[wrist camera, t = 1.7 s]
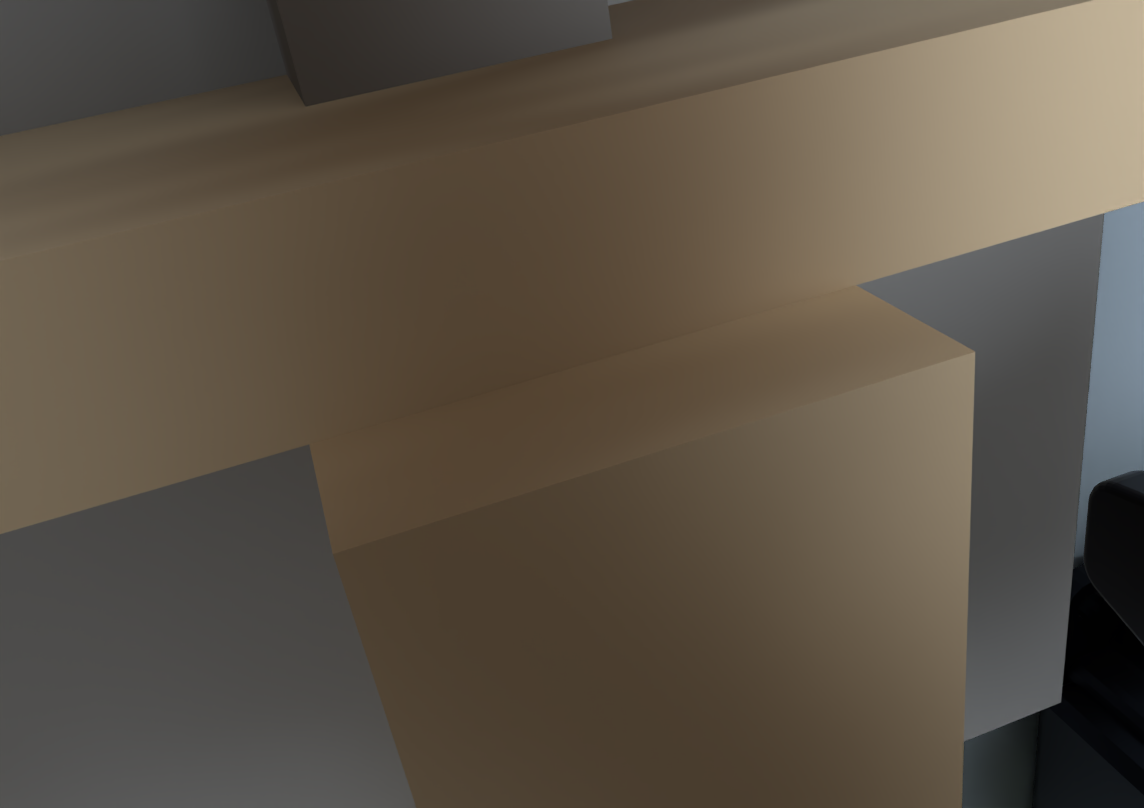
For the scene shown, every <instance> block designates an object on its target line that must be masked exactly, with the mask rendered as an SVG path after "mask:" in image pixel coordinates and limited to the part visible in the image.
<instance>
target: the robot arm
mask: <svg viewBox="0 0 1144 808" xmlns="http://www.w3.org/2000/svg"><path fill="white" fill-rule="evenodd" d="M1033 808H1144V471H1132V472H1128V473H1125V474H1123V475H1120V476H1117V477H1114V478H1111V479H1108V480H1106V481H1103V482H1101V483H1099V484H1098V485H1096V486H1095V487H1094V489H1093V490H1092V492H1091V494H1090V497H1089V502H1088V513H1087V524H1086V535H1085V546H1084V565H1082V566H1079V567H1076V568H1074V569H1073V573H1072V584H1071V595H1070V607H1069V618H1068V629H1067V641H1066V652H1065V663H1064V675H1063V686H1062V697H1061V703H1058V704H1056V705H1053V706H1051V707H1048V708H1046V709H1043V710H1041V711H1040V716H1039V729H1038V742H1037V755H1036V768H1035V782H1034V795H1033Z"/></svg>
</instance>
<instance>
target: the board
mask: <svg viewBox="0 0 1144 808" xmlns="http://www.w3.org/2000/svg"><path fill="white" fill-rule="evenodd" d="M607 1H608V6H609V5H614V4H619V3H623V2H628V1H633V0H607ZM283 75H287V73H286V69H285V66H284V62H283V59H282V55H281V51H280V48H279V44H278V41H277V37H276V34H275V30H274V26H273V23H272V19H271V16H270V12H269V9H268V5H267V1H266V0H0V136H3V135H7V134H12V133H17V132H21V131H26V130H31V129H35V128H40V127H45V126H49V125H54V124H59V123H63V122H68V121H73V120H77V119H82V118H87V117H91V116H96V115H101V114H105V113H110V112H115V111H119V110H124V109H129V108H133V107H138V106H143V105H147V104H152V103H157V102H161V101H166V100H171V99H175V98H180V97H185V96H189V95H194V94H199V93H203V92H208V91H213V90H217V89H222V88H227V87H231V86H236V85H241V84H245V83H250V82H255V81H259V80H264V79H269V78H273V77H278V76H283ZM1103 222H1104V213H1102V214H1099V215H1096V216H1092V217H1089V218H1085V219H1082V220H1078V221H1075V222H1071V223H1068V224H1065V225H1061V226H1058V227H1054V228H1051V229H1047V230H1044V231H1041V232H1037V233H1034V234H1030V235H1027V236H1023V237H1020V238H1017V239H1013V240H1010V241H1006V242H1003V243H999V244H996V245H992V246H989V247H986V248H982V249H979V250H975V251H972V252H968V253H965V254H962V255H958V256H955V257H951V258H948V259H944V260H941V261H937V262H934V263H931V264H927V265H924V266H920V267H917V268H913V269H910V270H907V271H903V272H900V273H896V274H893V275H889V276H886V277H882V278H879V279H876V280H872V281H869V282H865V283H862V284H858V285H856V286H858V287H860V288H862V289H864V290H865V291H867V292H869V293H871V294H873V295H874V296H876V297H878V298H880V299H882V300H883V301H885V302H887V303H889V304H891V305H892V306H894V307H896V308H898V309H900V310H901V311H903V312H905V313H907V314H909V315H910V316H912V317H914V318H916V319H918V320H919V321H921V322H923V323H925V324H927V325H928V326H930V327H932V328H934V329H936V330H937V331H939V332H941V333H943V334H945V335H946V336H948V337H950V338H952V339H954V340H955V341H957V342H959V343H961V344H963V345H964V346H966V347H968V348H970V349H972V350H973V351H975V379H974V413H973V447H972V481H971V515H970V549H969V583H968V617H967V651H966V685H965V719H964V742H965V741H967V740H970V739H972V738H975V737H977V736H979V735H982V734H984V733H987V732H989V731H992V730H994V729H997V728H999V727H1002V726H1004V725H1007V724H1009V723H1011V722H1014V721H1016V720H1019V719H1021V718H1024V717H1026V716H1029V715H1031V714H1034V713H1036V712H1039V711H1041V710H1043V709H1046V708H1048V707H1051V706H1053V705H1056V704H1058V703H1061V697H1062V686H1063V675H1064V663H1065V652H1066V641H1067V629H1068V618H1069V607H1070V595H1071V584H1072V573H1073V561H1074V550H1075V539H1076V528H1077V516H1078V505H1079V494H1080V482H1081V471H1082V460H1083V448H1084V437H1085V426H1086V414H1087V403H1088V392H1089V380H1090V369H1091V358H1092V347H1093V335H1094V324H1095V313H1096V301H1097V290H1098V279H1099V267H1100V256H1101V245H1102V233H1103ZM0 808H416V805H415V802H414V799H413V796H412V793H411V790H410V787H409V784H408V781H407V778H406V775H405V772H404V769H403V766H402V763H401V760H400V757H399V754H398V751H397V748H396V745H395V742H394V739H393V736H392V733H391V729H390V726H389V723H388V720H387V717H386V714H385V711H384V708H383V705H382V702H381V699H380V696H379V693H378V690H377V687H376V684H375V681H374V678H373V675H372V672H371V669H370V666H369V663H368V660H367V657H366V654H365V650H364V647H363V644H362V641H361V638H360V635H359V632H358V629H357V626H356V623H355V620H354V617H353V614H352V611H351V608H350V605H349V602H348V599H347V596H346V593H345V590H344V587H343V584H342V581H341V578H340V575H339V572H338V568H337V565H336V562H335V559H334V556H333V553H332V548H331V544H330V539H329V534H328V530H327V525H326V520H325V516H324V511H323V506H322V501H321V497H320V492H319V487H318V483H317V478H316V473H315V469H314V464H313V459H312V455H311V450H310V445H305V446H302V447H298V448H295V449H291V450H288V451H285V452H281V453H278V454H274V455H271V456H267V457H264V458H260V459H257V460H254V461H250V462H247V463H243V464H240V465H236V466H233V467H230V468H226V469H223V470H219V471H216V472H212V473H209V474H206V475H202V476H199V477H195V478H192V479H188V480H185V481H181V482H178V483H175V484H171V485H168V486H164V487H161V488H157V489H154V490H151V491H147V492H144V493H140V494H137V495H133V496H130V497H126V498H123V499H120V500H116V501H113V502H109V503H106V504H102V505H99V506H96V507H92V508H89V509H85V510H82V511H78V512H75V513H71V514H68V515H65V516H61V517H58V518H54V519H51V520H47V521H44V522H41V523H37V524H34V525H30V526H27V527H23V528H20V529H17V530H13V531H10V532H6V533H3V534H0Z"/></svg>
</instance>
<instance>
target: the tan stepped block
mask: <svg viewBox="0 0 1144 808" xmlns="http://www.w3.org/2000/svg"><path fill="white" fill-rule="evenodd" d="M266 1H267V5H268V9H269V12H270V16H271V19H272V23H273V26H274V30H275V34H276V37H277V41H278V44H279V48H280V51H281V55H282V59H283V62H284V66H285V69H286V73H287V75H283V76H278V77H273V78H269V79H264V80H259V81H255V82H250V83H245V84H241V85H236V86H231V87H227V88H222V89H217V90H213V91H208V92H203V93H199V94H194V95H189V96H185V97H180V98H175V99H171V100H166V101H161V102H157V103H152V104H147V105H143V106H138V107H133V108H129V109H124V110H119V111H115V112H110V113H105V114H101V115H96V116H91V117H87V118H82V119H77V120H73V121H68V122H63V123H59V124H54V125H49V126H45V127H40V128H35V129H31V130H26V131H21V132H17V133H12V134H7V135H3V136H0V534H3V533H6V532H10V531H13V530H17V529H20V528H23V527H27V526H30V525H34V524H37V523H41V522H44V521H47V520H51V519H54V518H58V517H61V516H65V515H68V514H71V513H75V512H78V511H82V510H85V509H89V508H92V507H96V506H99V505H102V504H106V503H109V502H113V501H116V500H120V499H123V498H126V497H130V496H133V495H137V494H140V493H144V492H147V491H151V490H154V489H157V488H161V487H164V486H168V485H171V484H175V483H178V482H181V481H185V480H188V479H192V478H195V477H199V476H202V475H206V474H209V473H212V472H216V471H219V470H223V469H226V468H230V467H233V466H236V465H240V464H243V463H247V462H250V461H254V460H257V459H260V458H264V457H267V456H271V455H274V454H278V453H281V452H285V451H288V450H291V449H295V448H298V447H302V446H305V445H310V450H311V455H312V459H313V464H314V469H315V473H316V478H317V483H318V487H319V492H320V497H321V501H322V506H323V511H324V516H325V520H326V525H327V530H328V534H329V539H330V544H331V548H332V553H333V556H334V559H335V562H336V565H337V568H338V572H339V575H340V578H341V581H342V584H343V587H344V590H345V593H346V596H347V599H348V602H349V605H350V608H351V611H352V614H353V617H354V620H355V623H356V626H357V629H358V632H359V635H360V638H361V641H362V644H363V647H364V650H365V654H366V657H367V660H368V663H369V666H370V669H371V672H372V675H373V678H374V681H375V684H376V687H377V690H378V693H379V696H380V699H381V702H382V705H383V708H384V711H385V714H386V717H387V720H388V723H389V726H390V729H391V733H392V736H393V739H394V742H395V745H396V748H397V751H398V754H399V757H400V760H401V763H402V766H403V769H404V772H405V775H406V778H407V781H408V784H409V787H410V790H411V793H412V796H413V799H414V802H415V805H416V808H962V787H963V753H964V719H965V685H966V651H967V617H968V583H969V549H970V515H971V481H972V447H973V413H974V379H975V351H973V350H972V349H970V348H968V347H966V346H964V345H963V344H961V343H959V342H957V341H955V340H954V339H952V338H950V337H948V336H946V335H945V334H943V333H941V332H939V331H937V330H936V329H934V328H932V327H930V326H928V325H927V324H925V323H923V322H921V321H919V320H918V319H916V318H914V317H912V316H910V315H909V314H907V313H905V312H903V311H901V310H900V309H898V308H896V307H894V306H892V305H891V304H889V303H887V302H885V301H883V300H882V299H880V298H878V297H876V296H874V295H873V294H871V293H869V292H867V291H865V290H864V289H862V288H860V287H858V286H856V285H858V284H862V283H865V282H869V281H872V280H876V279H879V278H882V277H886V276H889V275H893V274H896V273H900V272H903V271H907V270H910V269H913V268H917V267H920V266H924V265H927V264H931V263H934V262H937V261H941V260H944V259H948V258H951V257H955V256H958V255H962V254H965V253H968V252H972V251H975V250H979V249H982V248H986V247H989V246H992V245H996V244H999V243H1003V242H1006V241H1010V240H1013V239H1017V238H1020V237H1023V236H1027V235H1030V234H1034V233H1037V232H1041V231H1044V230H1047V229H1051V228H1054V227H1058V226H1061V225H1065V224H1068V223H1071V222H1075V221H1078V220H1082V219H1085V218H1089V217H1092V216H1096V215H1099V214H1102V213H1106V212H1109V211H1113V210H1116V209H1120V208H1123V207H1126V206H1130V205H1133V204H1137V203H1140V202H1144V0H633V1H628V2H623V3H619V4H614V5H609V6H608V1H607V0H266Z"/></svg>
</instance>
